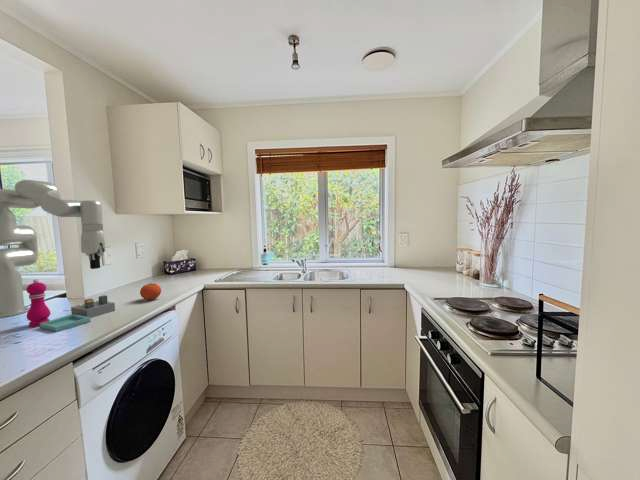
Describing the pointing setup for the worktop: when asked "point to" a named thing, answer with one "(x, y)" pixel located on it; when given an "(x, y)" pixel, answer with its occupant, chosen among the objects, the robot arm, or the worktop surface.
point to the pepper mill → (37, 304)
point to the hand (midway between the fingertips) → (95, 268)
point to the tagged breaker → (89, 303)
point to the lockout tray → (64, 323)
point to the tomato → (150, 291)
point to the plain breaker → (103, 299)
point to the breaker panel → (93, 309)
